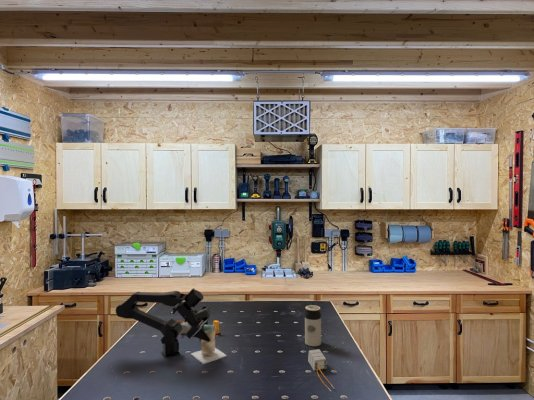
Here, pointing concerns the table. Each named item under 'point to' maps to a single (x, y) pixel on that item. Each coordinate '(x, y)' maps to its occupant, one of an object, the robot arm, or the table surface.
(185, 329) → the motor
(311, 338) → the travel mug
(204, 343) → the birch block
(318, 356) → the electrical component
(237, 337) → the table surface
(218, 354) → the grey pad
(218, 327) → the pipe clamp
